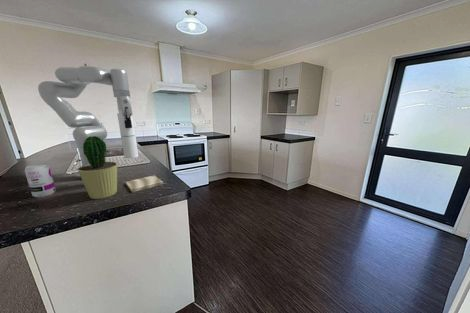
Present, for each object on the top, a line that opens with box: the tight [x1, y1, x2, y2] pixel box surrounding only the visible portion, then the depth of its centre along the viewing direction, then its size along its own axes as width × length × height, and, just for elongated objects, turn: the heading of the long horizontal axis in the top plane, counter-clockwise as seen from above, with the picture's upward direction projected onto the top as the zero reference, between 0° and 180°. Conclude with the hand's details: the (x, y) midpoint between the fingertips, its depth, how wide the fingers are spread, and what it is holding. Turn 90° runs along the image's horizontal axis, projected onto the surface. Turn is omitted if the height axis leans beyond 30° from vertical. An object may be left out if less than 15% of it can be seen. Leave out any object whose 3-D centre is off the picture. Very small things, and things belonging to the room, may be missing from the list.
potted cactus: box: [77, 136, 118, 200], centre depth 85 cm, size 15×15×30 cm
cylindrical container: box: [116, 112, 139, 159], centre depth 100 cm, size 7×7×25 cm
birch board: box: [125, 174, 164, 193], centre depth 101 cm, size 16×14×2 cm
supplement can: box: [24, 163, 57, 198], centre depth 86 cm, size 8×8×15 cm
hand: (127, 127), depth 99 cm, fingers closed on cylindrical container, 7 cm apart
